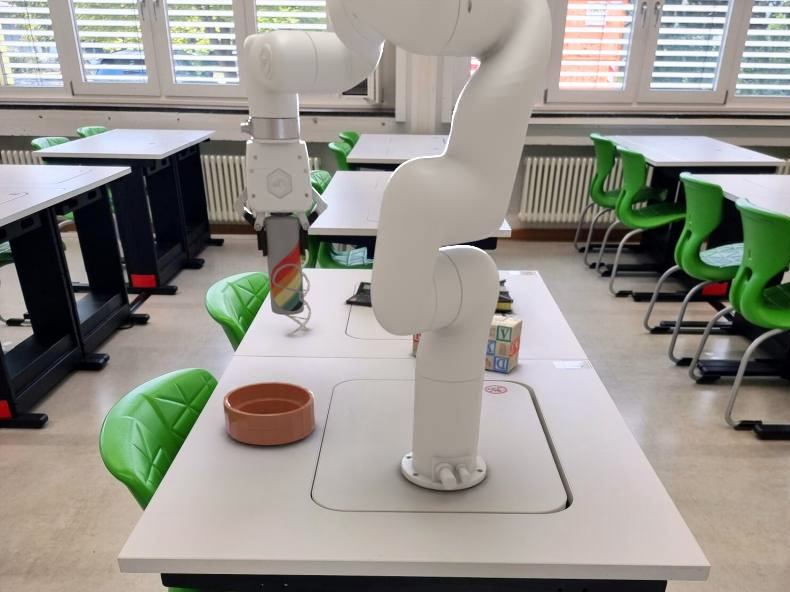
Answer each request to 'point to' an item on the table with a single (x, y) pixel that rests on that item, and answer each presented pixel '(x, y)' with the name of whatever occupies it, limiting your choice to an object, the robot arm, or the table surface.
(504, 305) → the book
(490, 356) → the stack of blocks
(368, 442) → the table surface
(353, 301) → the calculator
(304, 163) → the robot arm
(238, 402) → the bowl
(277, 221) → the lotion bottle
